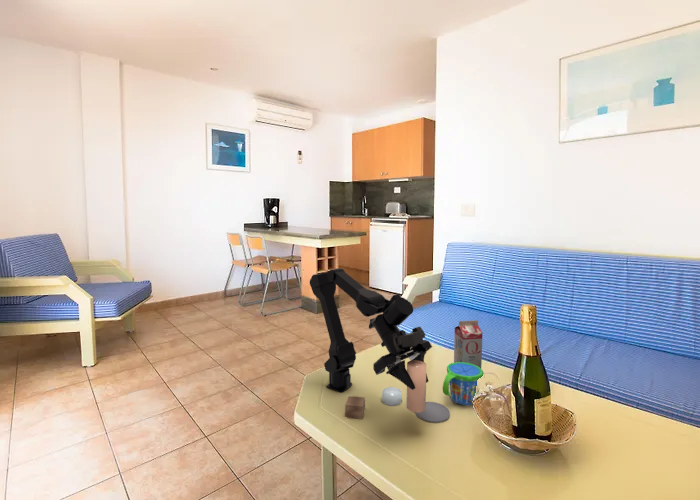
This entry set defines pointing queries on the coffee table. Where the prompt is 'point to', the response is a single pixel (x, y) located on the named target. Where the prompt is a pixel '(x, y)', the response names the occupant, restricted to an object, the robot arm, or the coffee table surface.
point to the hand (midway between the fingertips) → (420, 385)
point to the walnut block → (355, 407)
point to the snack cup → (462, 382)
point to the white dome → (391, 396)
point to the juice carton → (468, 343)
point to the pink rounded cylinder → (417, 386)
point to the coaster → (434, 413)
